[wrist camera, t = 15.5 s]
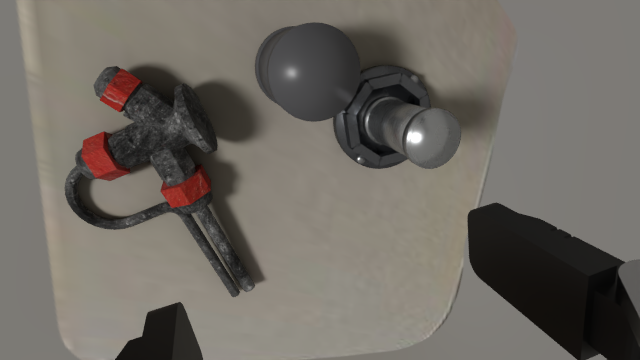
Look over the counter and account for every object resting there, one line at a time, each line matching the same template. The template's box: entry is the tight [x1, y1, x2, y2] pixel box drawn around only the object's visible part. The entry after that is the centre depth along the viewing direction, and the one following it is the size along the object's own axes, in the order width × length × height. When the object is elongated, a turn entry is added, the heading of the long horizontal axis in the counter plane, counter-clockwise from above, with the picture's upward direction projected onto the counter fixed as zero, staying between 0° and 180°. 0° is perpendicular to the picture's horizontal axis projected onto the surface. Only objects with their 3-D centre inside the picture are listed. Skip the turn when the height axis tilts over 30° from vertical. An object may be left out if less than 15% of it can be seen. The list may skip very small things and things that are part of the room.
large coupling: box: [255, 23, 360, 121], centre depth 34 cm, size 8×8×8 cm
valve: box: [65, 66, 255, 297], centre depth 37 cm, size 6×26×15 cm
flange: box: [333, 65, 431, 169], centre depth 41 cm, size 11×11×2 cm
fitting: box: [363, 96, 461, 169], centre depth 36 cm, size 5×5×10 cm
